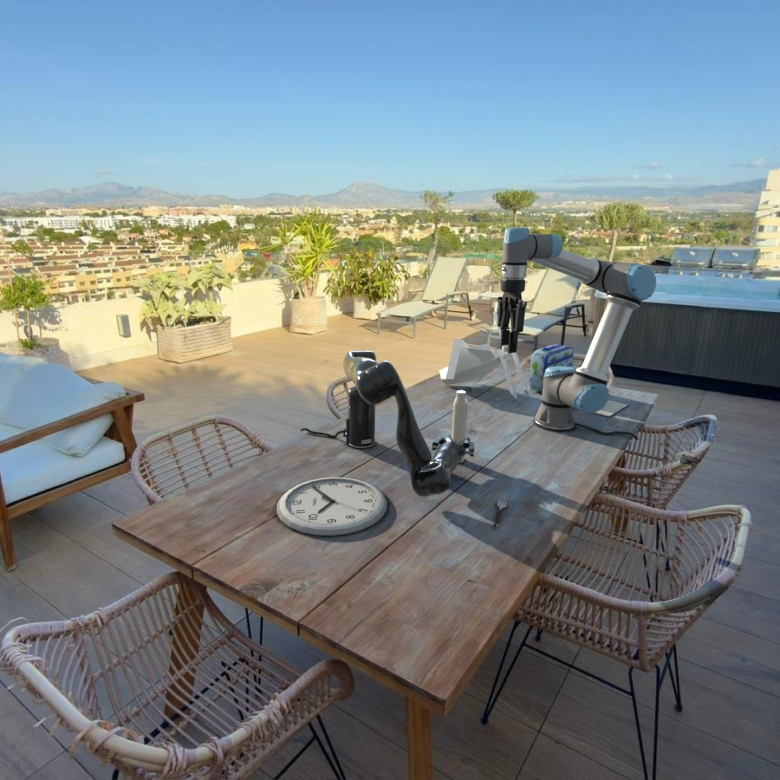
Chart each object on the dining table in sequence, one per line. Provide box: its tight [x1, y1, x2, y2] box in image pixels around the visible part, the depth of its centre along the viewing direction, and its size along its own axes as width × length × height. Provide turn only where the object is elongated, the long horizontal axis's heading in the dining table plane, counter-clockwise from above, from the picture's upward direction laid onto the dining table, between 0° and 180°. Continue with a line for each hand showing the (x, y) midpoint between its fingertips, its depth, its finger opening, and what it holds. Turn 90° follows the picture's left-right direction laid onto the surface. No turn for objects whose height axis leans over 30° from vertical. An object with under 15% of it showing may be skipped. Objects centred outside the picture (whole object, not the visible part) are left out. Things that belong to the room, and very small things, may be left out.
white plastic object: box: [438, 310, 531, 400], centre depth 245 cm, size 37×45×31 cm
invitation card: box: [595, 399, 629, 418], centre depth 226 cm, size 21×1×15 cm
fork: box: [493, 493, 509, 528], centre depth 139 cm, size 3×16×2 cm, turn 160°
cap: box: [502, 345, 508, 352], centre depth 171 cm, size 4×4×2 cm
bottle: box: [451, 389, 469, 464], centre depth 169 cm, size 4×4×24 cm
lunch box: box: [528, 344, 574, 393], centre depth 247 cm, size 26×11×21 cm, turn 134°
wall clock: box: [276, 476, 388, 537], centre depth 142 cm, size 30×2×30 cm
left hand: (460, 438), depth 172 cm, fingers closed on bottle, 4 cm apart
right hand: (508, 350), depth 172 cm, fingers closed on cap, 4 cm apart
